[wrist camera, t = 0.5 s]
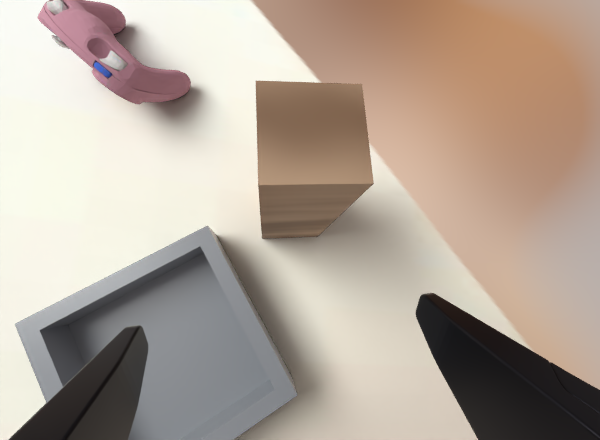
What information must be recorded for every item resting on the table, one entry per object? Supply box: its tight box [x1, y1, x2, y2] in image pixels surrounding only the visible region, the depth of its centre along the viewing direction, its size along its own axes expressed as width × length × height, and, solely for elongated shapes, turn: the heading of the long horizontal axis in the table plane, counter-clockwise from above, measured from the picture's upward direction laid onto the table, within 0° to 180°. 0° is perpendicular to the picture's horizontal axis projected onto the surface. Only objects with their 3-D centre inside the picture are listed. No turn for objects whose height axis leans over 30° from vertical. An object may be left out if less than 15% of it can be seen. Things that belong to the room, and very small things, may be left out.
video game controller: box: [38, 0, 191, 104], centre depth 22 cm, size 10×5×7 cm, turn 46°
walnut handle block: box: [256, 81, 374, 238], centre depth 18 cm, size 4×4×12 cm
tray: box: [15, 226, 297, 440], centre depth 19 cm, size 12×12×4 cm
